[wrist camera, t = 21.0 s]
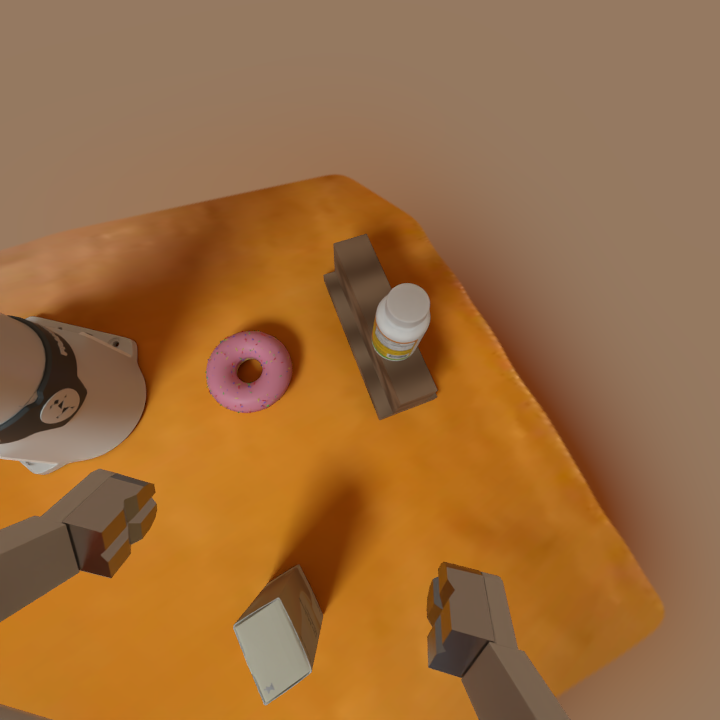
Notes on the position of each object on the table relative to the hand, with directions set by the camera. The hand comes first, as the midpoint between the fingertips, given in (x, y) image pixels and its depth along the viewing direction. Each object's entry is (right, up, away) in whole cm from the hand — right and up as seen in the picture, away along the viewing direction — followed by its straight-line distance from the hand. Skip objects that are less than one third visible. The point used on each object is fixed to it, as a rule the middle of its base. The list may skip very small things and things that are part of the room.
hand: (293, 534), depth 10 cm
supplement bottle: (+6, +7, +31) cm, 33 cm away
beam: (+4, +8, +40) cm, 41 cm away
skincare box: (-6, -22, +30) cm, 38 cm away
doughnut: (-13, +3, +38) cm, 40 cm away
